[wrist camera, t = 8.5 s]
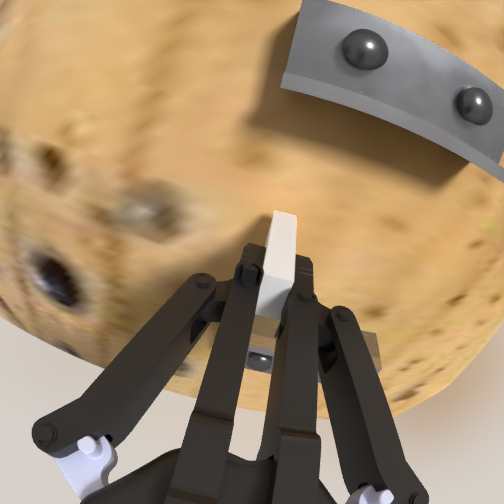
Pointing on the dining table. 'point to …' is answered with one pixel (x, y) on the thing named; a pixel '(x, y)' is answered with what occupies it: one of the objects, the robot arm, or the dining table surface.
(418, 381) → the dining table surface
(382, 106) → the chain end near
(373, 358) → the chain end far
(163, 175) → the dining table surface
